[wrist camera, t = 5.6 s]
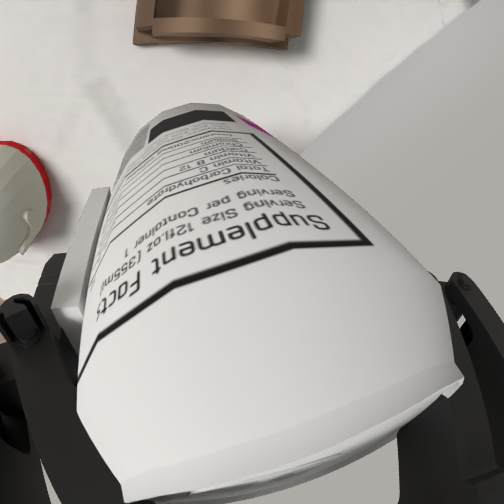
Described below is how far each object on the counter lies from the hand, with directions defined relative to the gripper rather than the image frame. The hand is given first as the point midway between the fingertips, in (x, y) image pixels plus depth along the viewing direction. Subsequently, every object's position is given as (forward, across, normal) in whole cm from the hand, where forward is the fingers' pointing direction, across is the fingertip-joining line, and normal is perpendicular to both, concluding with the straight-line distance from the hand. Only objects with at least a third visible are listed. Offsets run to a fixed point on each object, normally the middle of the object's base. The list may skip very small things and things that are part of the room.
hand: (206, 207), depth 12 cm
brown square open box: (+21, +3, +17) cm, 27 cm away
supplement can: (+4, 0, 0) cm, 4 cm away
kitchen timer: (+21, -23, -6) cm, 32 cm away
